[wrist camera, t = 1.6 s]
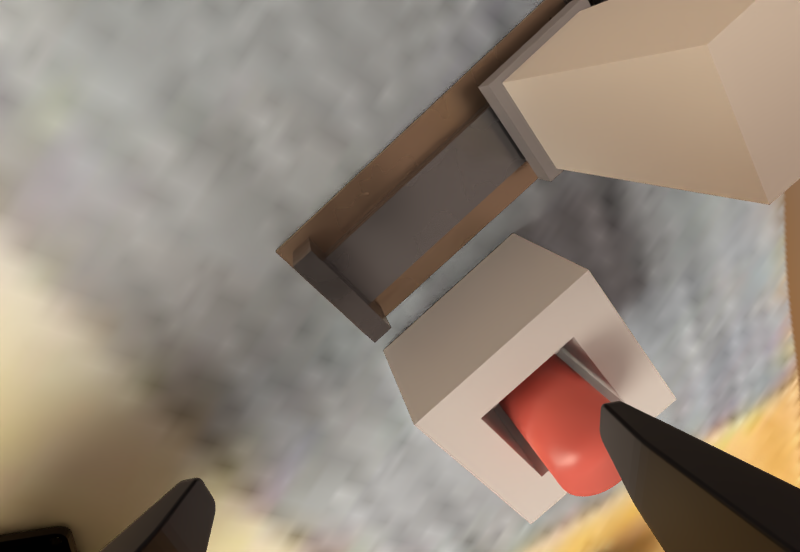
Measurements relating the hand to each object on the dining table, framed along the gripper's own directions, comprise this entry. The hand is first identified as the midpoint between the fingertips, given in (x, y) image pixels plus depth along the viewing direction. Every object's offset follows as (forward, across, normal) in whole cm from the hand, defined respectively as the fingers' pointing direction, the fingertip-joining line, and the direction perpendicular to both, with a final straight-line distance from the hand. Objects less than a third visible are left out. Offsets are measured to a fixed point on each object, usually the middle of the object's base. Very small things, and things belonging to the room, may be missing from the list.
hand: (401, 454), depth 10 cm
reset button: (+9, +6, -7) cm, 13 cm away
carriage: (+13, +8, +5) cm, 16 cm away
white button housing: (+12, +5, -8) cm, 15 cm away
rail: (+14, +5, +3) cm, 15 cm away
